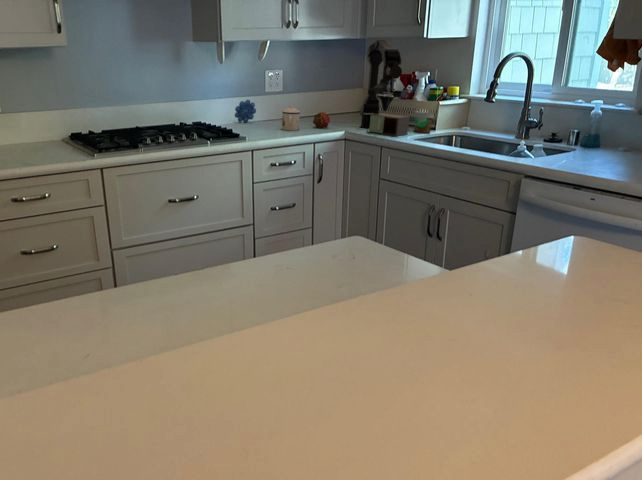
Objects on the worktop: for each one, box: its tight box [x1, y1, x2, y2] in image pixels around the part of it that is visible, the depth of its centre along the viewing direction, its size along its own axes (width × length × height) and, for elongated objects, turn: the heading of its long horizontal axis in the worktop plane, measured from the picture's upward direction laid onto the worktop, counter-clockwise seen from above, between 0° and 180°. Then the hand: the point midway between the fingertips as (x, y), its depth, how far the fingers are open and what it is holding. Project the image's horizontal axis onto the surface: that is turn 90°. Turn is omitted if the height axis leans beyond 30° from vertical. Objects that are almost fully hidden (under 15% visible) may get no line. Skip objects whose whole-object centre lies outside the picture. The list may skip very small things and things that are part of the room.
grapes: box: [234, 99, 257, 124], centre depth 331 cm, size 12×7×12 cm, turn 84°
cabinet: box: [366, 112, 410, 138], centre depth 308 cm, size 16×12×9 cm
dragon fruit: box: [312, 111, 331, 129], centre depth 322 cm, size 8×8×12 cm
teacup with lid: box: [281, 105, 301, 132], centre depth 311 cm, size 12×9×12 cm
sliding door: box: [368, 115, 385, 133], centre depth 306 cm, size 8×3×8 cm, turn 46°
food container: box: [413, 110, 435, 135], centre depth 314 cm, size 12×6×10 cm, turn 25°
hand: (384, 111), depth 299 cm, fingers closed
